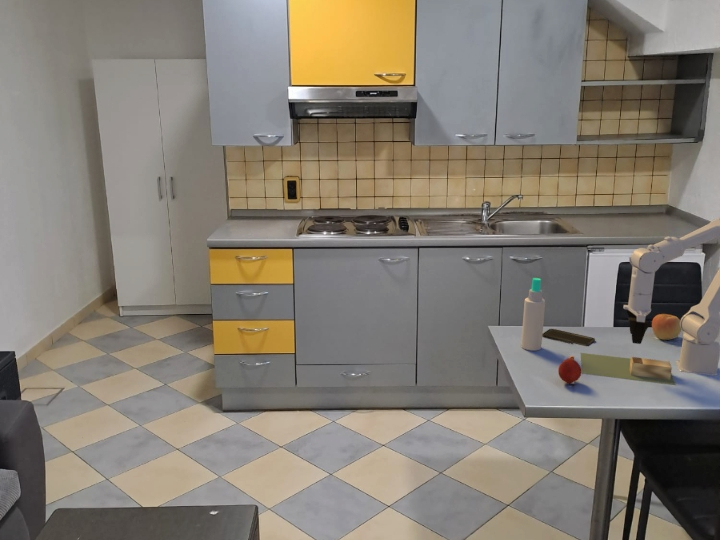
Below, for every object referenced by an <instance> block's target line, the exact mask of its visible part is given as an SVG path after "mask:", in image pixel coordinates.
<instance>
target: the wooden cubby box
mask: <svg viewBox="0 0 720 540" xmlns="http://www.w3.org/2000/svg"><path fill="white" fill-rule="evenodd" d="M630 359H631V360H630V368H629V370H630V374H631V375H636V376H644V377H652V378H660V379H668V380H670V377H671V374H672V369H673V367H672V365H671V362H670V361H667V360H660V359H651V358H644V357H643V358H642V357H636V356H631V357H630Z"/></svg>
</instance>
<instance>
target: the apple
mask: <svg viewBox="0 0 720 540" xmlns="http://www.w3.org/2000/svg"><path fill="white" fill-rule="evenodd" d="M680 321H681V319H680V318H679V317H677V316H675V315H672V314H667V313H661V314H660V313H659V314H657V315H655V316H654V317H653V318H652V321H651V328H652V331H653V334H654V335H655V337H657V338H658V339H660V340H664V341H666V340H673V339H675V338H677V337H678V336H679V335H680V334H681V332H682V329H681V327H680Z"/></svg>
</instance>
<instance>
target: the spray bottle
mask: <svg viewBox="0 0 720 540" xmlns="http://www.w3.org/2000/svg"><path fill="white" fill-rule="evenodd" d="M531 282H532V283H531V288H530V289H529V291H528V297H526V298H525V299H524V302H523V303H524V306H523V316H522V317H523V319H522V331H521V339H520V340H521V343H520V346H521V348H522V349H524V350H527V351H531V352H533V351H534V352H535V351H539V350H541V349H542V342H543V337H542V334H543V333H544V332H543V331H544V321H545V320H544V319H545V309H546V300H545V299H544V298H543V290H542V289H541V286H542V285H541V284H542V279H541V278H538V277H532V281H531Z"/></svg>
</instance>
